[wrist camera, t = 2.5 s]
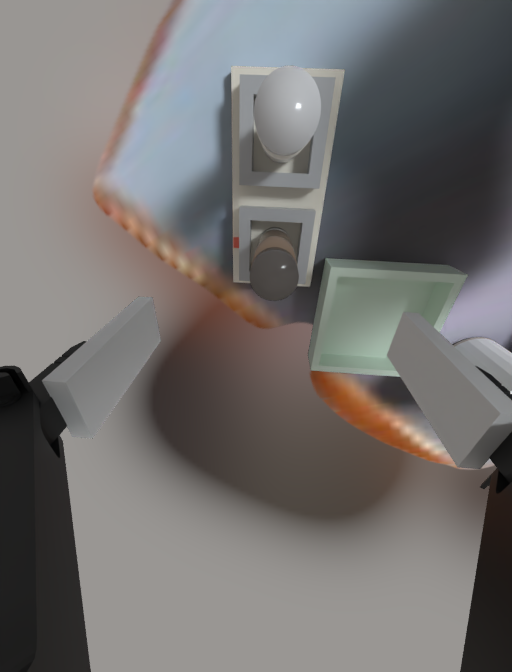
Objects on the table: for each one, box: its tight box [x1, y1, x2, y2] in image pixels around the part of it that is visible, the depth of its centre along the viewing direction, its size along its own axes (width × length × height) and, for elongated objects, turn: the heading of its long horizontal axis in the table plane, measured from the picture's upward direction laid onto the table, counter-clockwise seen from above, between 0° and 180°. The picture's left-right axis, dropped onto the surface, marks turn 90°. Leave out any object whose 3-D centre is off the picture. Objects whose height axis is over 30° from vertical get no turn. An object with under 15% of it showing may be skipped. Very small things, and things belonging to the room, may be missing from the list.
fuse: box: [254, 66, 321, 163], centre depth 20 cm, size 4×4×12 cm
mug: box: [453, 337, 512, 394], centre depth 34 cm, size 11×9×10 cm
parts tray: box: [308, 258, 468, 377], centre depth 34 cm, size 15×15×4 cm
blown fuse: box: [250, 227, 299, 301], centre depth 25 cm, size 4×4×12 cm
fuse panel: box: [231, 66, 345, 287], centre depth 27 cm, size 20×10×3 cm, turn 178°
